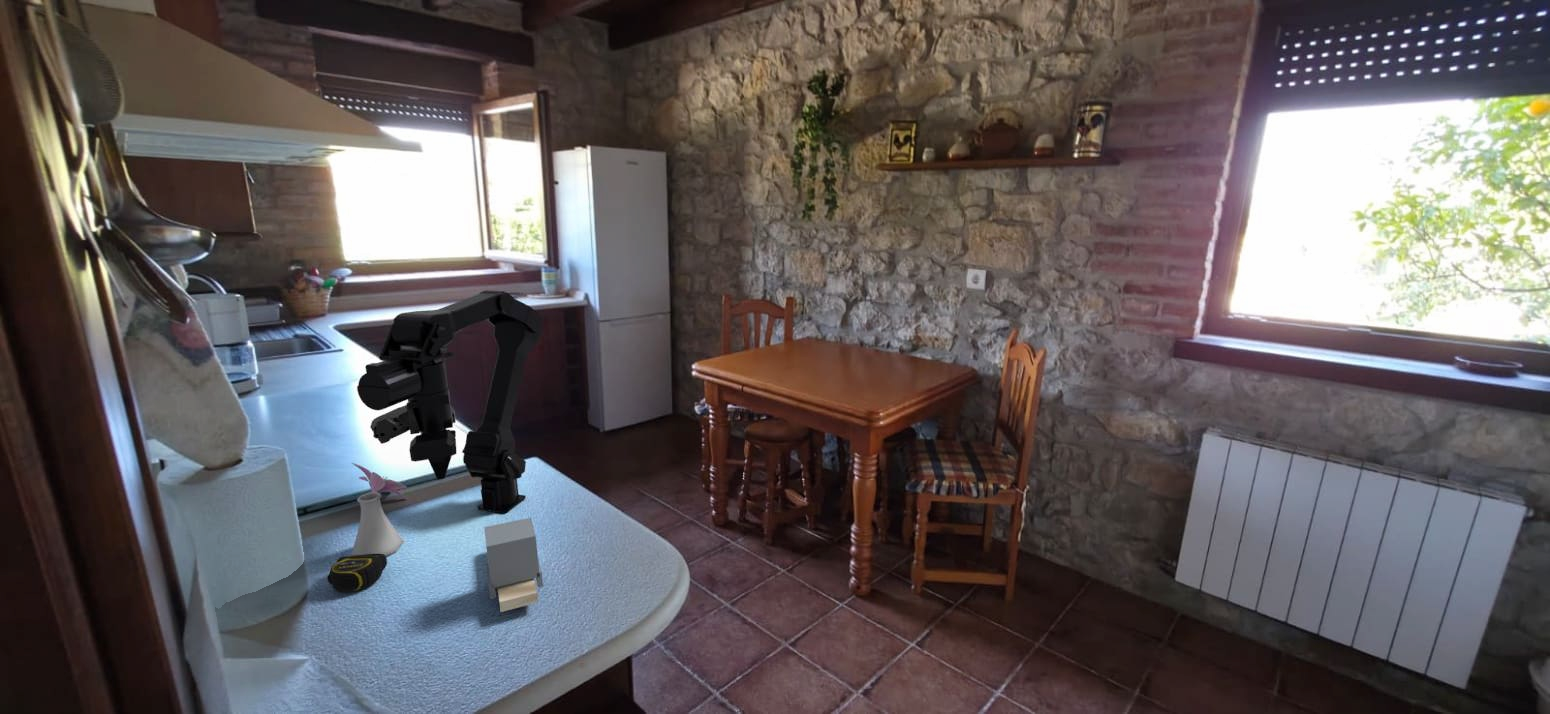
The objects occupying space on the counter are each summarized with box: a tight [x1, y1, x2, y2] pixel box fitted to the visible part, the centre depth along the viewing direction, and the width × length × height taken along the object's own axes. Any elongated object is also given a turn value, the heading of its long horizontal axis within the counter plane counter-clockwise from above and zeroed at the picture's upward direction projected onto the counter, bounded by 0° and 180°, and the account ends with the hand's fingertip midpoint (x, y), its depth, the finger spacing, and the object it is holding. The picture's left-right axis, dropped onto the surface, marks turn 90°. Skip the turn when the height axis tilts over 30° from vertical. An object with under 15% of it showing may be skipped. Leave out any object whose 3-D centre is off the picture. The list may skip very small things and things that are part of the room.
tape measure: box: [327, 554, 388, 592], centre depth 98 cm, size 7×7×4 cm
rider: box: [483, 517, 544, 600], centre depth 95 cm, size 6×7×8 cm
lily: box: [351, 462, 408, 500], centre depth 122 cm, size 11×11×9 cm
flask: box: [350, 491, 405, 557], centre depth 106 cm, size 7×7×10 cm
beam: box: [497, 578, 539, 613], centre depth 99 cm, size 20×5×3 cm, turn 26°
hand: (441, 478), depth 107 cm, fingers closed
